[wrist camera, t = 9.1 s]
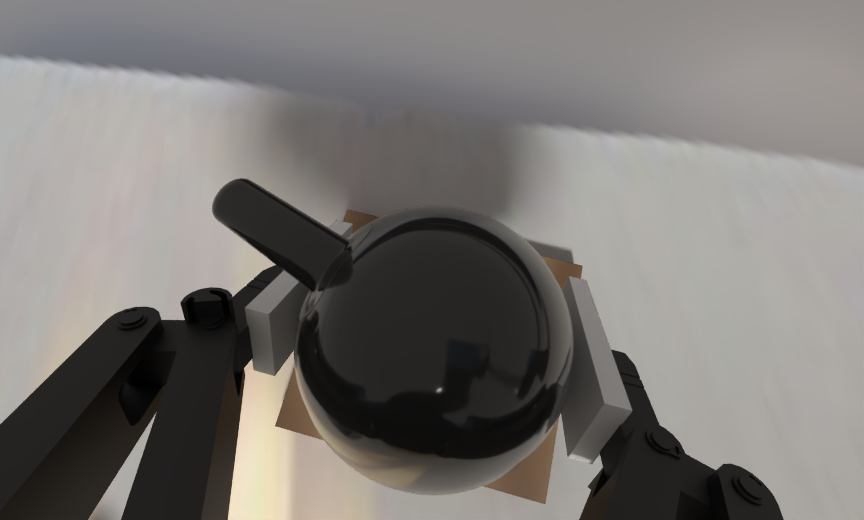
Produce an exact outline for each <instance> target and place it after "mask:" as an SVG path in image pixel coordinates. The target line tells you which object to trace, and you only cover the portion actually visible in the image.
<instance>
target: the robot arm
mask: <svg viewBox="0 0 864 520" xmlns="http://www.w3.org/2000/svg"><path fill="white" fill-rule="evenodd" d="M352 226H353V224H351V223H347V222H343V221H339V220H336V221H335V222H334V223H333V224H332V225H331V226H330V227H329V229H331V230H333V231H334V232H336V233H338V234H339V235H341V236H343V237H345V238H348V237H349V236H350V235H352ZM307 290H308V289H307V288H306V287H305V286H303V285H302V284H301V283H300V282H298V281H297V280H296V279H294V278H293V277H292V276H290V275H289V274H288V273H286V272H285V271H284V270H283V269H281V268H280V267H279V266H277V265H275V266H272V267H270V268H268V269H266V270H263V271H262V272H261V273H260V274H259V275H257V276H256V277H255V278H254V280H252V281H251V282H249V283H248V284H247V286H245V287H244V288H243V289H241V290H240V291H239V292H238V293H237V294H236V295H235V296H233V297H232V294H231V293H230V292H229V291H227V290H225V289H222V288H204V289H200V290H197V291H194V292H192V293H190V294H189V295H187V296H186V297H184V299H183V300H182V301H181V307H182V310H183V314H184V318H185V320H161V317H160V314H159V312H158V311H157V310H156V309H154V308H150V307H134V308H130V309H125V310H123V311H120V312H118V313H116V314H114V315H113V316H111V317H110V318H109V319H107V320H106V321H105V322H104V323H103V324H102V325H101V326H100V327H99V328H98V329H97V330H96V331H95V332H94V333H93V334H92V335H91V336H90V337H89V338H88V339H87V340H86V341H85V342H84V343H83V344H82V345H81V346H80V347H79V348H78V349H77V350H76V351H75V352H74V353H73V354H72V355H70V356H69V357H68V358H67V359H66V360H65V361H64V362H63V363H62V364H61V365H60V366H59V367H58V368H57V369H56V370H55V371H54V372H53V373H52V374H51V375H50V376H49V377H48V378H47V379H46V380H45V381H44V382H43V383H42V384H41V385H40V386H39V387H38V388H37V389H36V390H35V391H34V392H33V393H32V394H31V395H30V396H29V397H28V398H27V399H26V400H25V401H24V402H23V403H22V404H21V405H20V406H19V407H18V408H17V409H16V410H15V411H14V412H13V413H12V414H10V415H9V416H8V417H7V418H6V419H5V420H4V421H3V422H2V423H1V424H0V520H88V518H89V517H90V515H91V514H92V512H93V511H94V509H95V507H96V506H97V504H98V503H99V501H100V500H101V498H102V497H103V495H104V493H105V492H106V490H107V489H108V487H109V486H110V484H111V482H112V481H113V479H114V478H115V476H116V475H117V473H118V471H119V470H120V468H121V467H122V465H123V464H124V462H125V460H126V459H127V457H128V456H129V454H130V453H131V451H132V449H133V448H134V446H135V445H136V443H137V442H138V440H139V438H140V437H141V435H142V434H143V432H144V431H145V429H146V427H147V426H148V424H149V423H150V421H151V420H152V418H153V416H154V415H155V413H156V412H157V413H156V416H155V419H154V422H153V425H152V428H151V431H150V434H149V437H148V440H147V443H146V446H145V449H144V452H143V455H142V458H141V461H140V464H139V467H138V470H137V473H136V476H135V479H134V482H133V485H132V488H131V491H130V494H129V497H128V500H127V503H126V506H125V509H124V512H123V515H122V518H121V520H228V511H229V503H230V495H231V487H232V479H233V470H234V462H235V454H236V446H237V438H238V430H239V421H240V413H241V405H242V397H243V389H244V381H245V372H244V367H245V366H246V365H247V364H248V363H249V362H250V360H251V359H252V361H253V368H254V370H256V371H259V372H263V373H266V374H270V375H274V376H275V375H276V374H277V372H278V371H279V370H280V368H281V367H282V365H283V364H284V363H285V361H286V360H287V359H288V357H289V356H290V354H291V353H292V352H293V350H294V339H295V330H296V324H297V320H298V315H299V312H300V308H301V305H302V302H303V300H304V297H305V295H306V292H307ZM562 291H563V294H564V296H565V299H566V302H567V305H568V308H569V312H570V316H571V320H572V326H573V333H574V367H573V374H572V380H571V385H570V389H569V392H568V395H567V399H566V401H565V404H564V407H563V409H562V411H561V415H562V422H563V428H564V435H565V442H566V448H567V455H568V458H572V459H575V460H579V461H582V462H586V463H589V464H593V462H594V461H595V460H596V458H597V457H598V456H599V454H600V456H601V460H602V464H603V468H602V469H601V471H600V472H599V473H598V474H597V476H596V477H595V478H594V479H593V481H592V482H591V483H590V484H589V486H588V488H590V489H591V492H590V494H589V497H588V499H587V502H586V504H585V507H584V509H583V512H582V514H581V517H580V519H579V520H784V519H783V517H782V514H781V511H780V508H779V506H778V503H777V501H776V500H775V498H774V496H773V494H772V493H771V492H770V490H769V489H768V488H767V487H766V486H765V485H764V483H763V482H761V481H760V480H759V479H758V478H757V477H756V476H754V475H753V474H752V473H750V472H749V471H747V470H745V469H744V468H742V467H739V466H736V465H733V464H723V465H722V466H721V467H719V468H718V469H717V470H714V469H712V468H710V467H709V466H707V465H705V464H703V463H701V462H699V461H697V460H695V459H694V458H692V457H690V456H688V455H687V454H685V452H684V450H683V448H682V446H681V444H680V442H679V441H678V440H677V439H676V438H675V437H674V435H673V434H671V433H670V432H669V431H667V430H666V429H665V428H664V427H662V426H660V425H659V423H658V420H657V418H656V415H655V413H654V410H653V408H652V406H651V403H650V401H649V398H648V396H647V393H646V391H645V390H644V386H643V384H642V381H641V380H640V379H639V378H640V376H639V374H638V372H637V369H636V367H635V365H634V364H633V362H632V361H631V360H630V359H629V358H628V356H627V355H626V354H625V353H622V352H619V351H615V350H611V348H610V346H609V343H608V340H607V337H606V334H605V331H604V329H603V326H602V323H601V320H600V317H599V314H598V312H597V309H596V306H595V303H594V300H593V297H592V295H591V292H590V289H589V286H588V283H587V280H583V279H579V278H575V277H571V276H569V277H568V279H567V282H566V284H565V286H564V288H563V290H562Z"/></svg>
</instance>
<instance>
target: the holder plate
mask: <svg viewBox="0 0 864 520" xmlns="http://www.w3.org/2000/svg"><path fill="white" fill-rule="evenodd" d="M377 218H379V217H376V216H372V215H367V214H363V213H359V212H355V211H351V210H347V213H346V216H345V218H344V221H343V222H347V223H351V224H353V226H352V234H353V233H354V232H356V231H357V230H358V229H360V228H361V227H363V226H364V225H366V224H368V223H370V222H372V221H373V220H375V219H377ZM541 257H542V258H543V259H544V261H545V262H546V263H547V265H548V266H549V268H550V269H551V271H552V272H553V274H554V275H555V277H556V279H557V281H558V283H559V285H560V287H561V289H562V290H563V288H564V286H565V284H566V282H567V279H568V277H569V276H571V277H575V278H579V279H581V273H582V266H581V265H577V264H573V263H569V262H564V261H560V260H556V259H552V258H548V257H543V256H541ZM558 420H559V417H558V419H557V421H556V423H555V425H554V427H553V428H552V430H551V431H550V433H549V434H548V436H547V437H546V439H545V440H544V441H543V442H542V444H541V445H540V446H539V447H538V448H537V450H536V451H535V452H534V453H533V454H532V455H531V456H530V457H529V458H527V459H526V460H525V461H524V462H523V463H522V464H521V465H519V466H518V467H517V468H515V469H514V470H513V471H511V472H509V473H508V474H506V475H505V476H503V477H501V478H500V479H498V480H496V481H494V482H492V483H489V484H487V485H484V487H488V488H491V489H495V490H498V491H502V492H505V493H508V494H512V495H515V496H519V497H522V498H526V499H529V500H533V501H536V502H540V503H543V504H545V503H546V496H547V490H548V484H549V477H550V471H551V464H552V458H553V452H554V445H555V439H556V432H557V426H558ZM275 426H277V427H280V428H284V429H287V430H291V431H294V432H298V433H301V434H304V435H308V436H311V437H315V438H318V439H322V440H323V438H322V437H321V436H320V434H319V433H318V431H317V429H316V428H315V426H314V424H313V423H312V421H311V419H310V417H309V415H308V413H307V411H306V409H305V406H304V403H303V401H302V398H301V395H300V391H299V388H298V384H297V379H296V373H295V368H294V371H293V374H292V377H291V380H290V383H289V386H288V389H287V392H286V395H285V398H284V401H283V404H282V407H281V410H280V413H279V416H278V419H277V422H276V425H275Z"/></svg>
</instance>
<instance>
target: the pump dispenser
mask: <svg viewBox="0 0 864 520" xmlns="http://www.w3.org/2000/svg"><path fill="white" fill-rule="evenodd" d="M212 212H213V215H214V217H215V218H216V219H217V220H218V221H219V222H221V223H222V224H223V225H224V226H226V227H227V228H228V229H230V230H231V231H232V232H234V233H235V234H236V235H238V236H239V237H240V238H242V239H243V240H244V241H246V242H247V243H248V244H250V245H251V246H252V247H253V248H255V249H256V250H257V251H259V252H260V253H261V254H263V255H264V256H265V257H267V258H268V259H269V260H271V261H272V262H273V263H275V264H276V265H277V266H279V267H280V268H281V269H283V270H284V271H285V272H286V273H288V274H289V275H290V276H292V277H293V278H294V279H296V280H297V281H298V282H300V283H301V284H302V285H303V286H305V287H306V288H307V289H308V290H307V292H306V295H305V297H304V300H303V302H302V305H301V308H300V312H299V315H298V320H297V324H296V330H295V339H294V364H295V373H296V379H297V384H298V388H299V391H300V395H301V398H302V401H303V403H304V406H305V409H306V411H307V413H308V415H309V417H310V419H311V421H312V423H313V424H314V426H315V428H316V429H317V431H318V433H319V434H320V436H321V437H322V438H323V440H324V441H325V442H326V443H327V445H328V446H329V447H330V448H331V449H332V450H333V451H334V452H335V453H336V454H337V455H338V456H339V457H340V458H341V459H342V460H343V461H344V462H345V463H346V464H348V465H349V466H350V467H352V468H353V469H354V470H356V471H357V472H359V473H360V474H362V475H363V476H365V477H367V478H369V479H371V480H373V481H375V482H377V483H379V484H381V485H384V486H386V487H389V488H392V489H395V490H399V491H403V492H407V493H413V494H421V495H447V494H455V493H461V492H465V491H469V490H473V489H476V488H479V487H482V486H484V485H487V484H489V483H492V482H494V481H496V480H498V479H500V478H501V477H503V476H505V475H506V474H508V473H509V472H511V471H513V470H514V469H515V468H517V467H518V466H519V465H521V464H522V463H523V462H524V461H525V460H526V459H527V458H529V457H530V456H531V455H532V454H533V453H534V452H535V451H536V450H537V448H538V447H539V446H540V445H541V444H542V442H543V441H544V440H545V439H546V437H547V436H548V434H549V433H550V431H551V430H552V428H553V427H554V425H555V423H556V421H557V419H558V417H559V415H560V413H561V411H562V409H563V407H564V404H565V401H566V399H567V395H568V392H569V389H570V385H571V380H572V374H573V367H574V333H573V326H572V320H571V316H570V312H569V308H568V305H567V302H566V299H565V296H564V294H563V291H562V289H561V287H560V285H559V283H558V281H557V279H556V277H555V275H554V274H553V272H552V271H551V269H550V268H549V266H548V265H547V263H546V262H545V261H544V259H543V258H542V257H541V256H540V254H539V253H538V252H537V251H536V250H535V249H534V248H533V247H532V246H531V245H530V244H529V243H528V242H527V241H526V240H525V239H524V238H522V237H521V236H520V235H519V234H517V233H516V232H515V231H513V230H512V229H510V228H509V227H507V226H505V225H504V224H502V223H500V222H498V221H496V220H495V219H492V218H490V217H488V216H486V215H483V214H480V213H477V212H474V211H471V210H467V209H463V208H458V207H451V206H418V207H412V208H406V209H402V210H398V211H395V212H392V213H389V214H387V215H384V216H382V217H379V218H377V219H375V220H373V221H372V222H370V223H368V224H366V225H364V226H363V227H361V228H360V229H358V230H357V231H356V232H354V233H353V234H352V235H350V236H349V237H348V238H345V237H343V236H341V235H339V234H338V233H336V232H334V231H333V230H331V229H329V228H328V227H326V226H325V225H323V224H321V223H320V222H318V221H316V220H315V219H313V218H311V217H310V216H308V215H306V214H305V213H303V212H302V211H300V210H298V209H297V208H295V207H293V206H292V205H290V204H288V203H287V202H285V201H284V200H282V199H280V198H279V197H277V196H275V195H274V194H272V193H270V192H269V191H267V190H265V189H264V188H262V187H261V186H259V185H257V184H256V183H254V182H252V181H251V180H248V179H244V178H240V179H235V180H232V181H230V182H229V183H227V184H226V185H225V186H223V187H222V188H221V189H220V191H219V192H218V193H217V195H216V196H215V198H214V201H213V204H212Z"/></svg>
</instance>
